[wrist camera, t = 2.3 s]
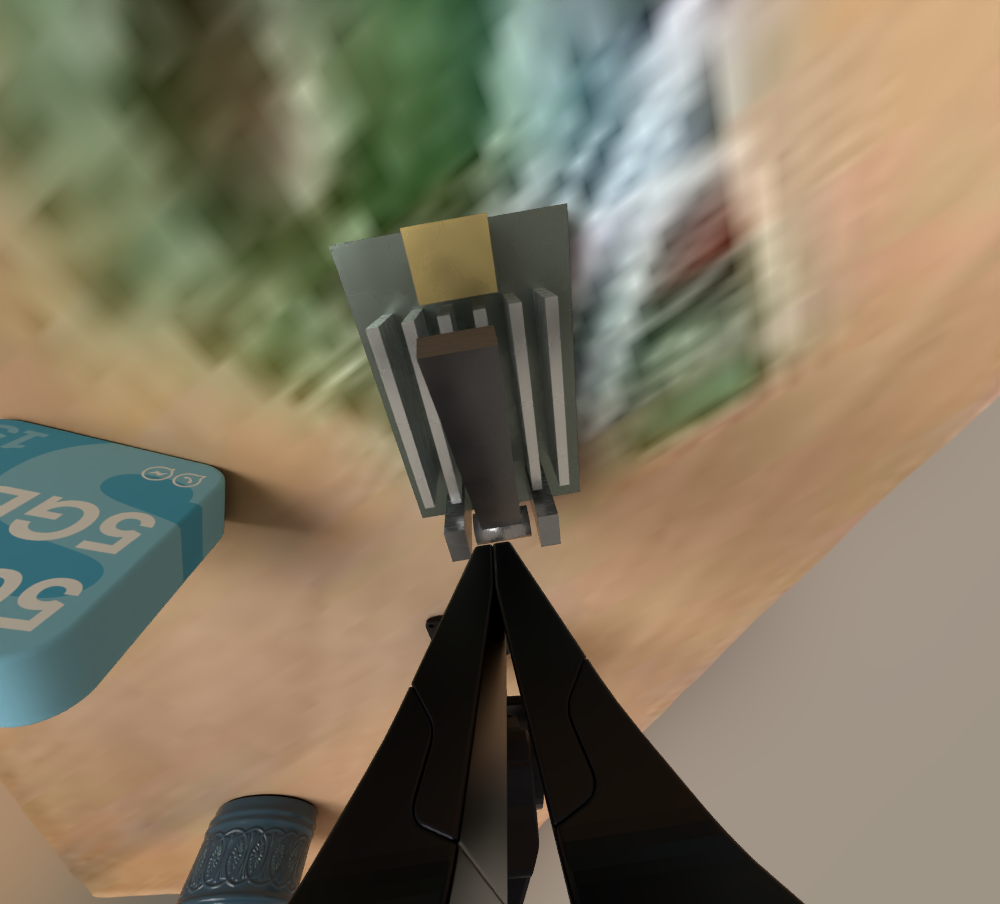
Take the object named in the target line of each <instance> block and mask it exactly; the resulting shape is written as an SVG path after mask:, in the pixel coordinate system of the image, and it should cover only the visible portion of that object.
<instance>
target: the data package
mask: <svg viewBox="0 0 1000 904" xmlns="http://www.w3.org/2000/svg"><path fill="white" fill-rule="evenodd" d="M224 514H225V477H224V475H223V474H222V473H221V472H220V471H219V470H218V469H216V468H214V467H212V466H209V465H206V464H202V463H197V462H193V461H189V460H185V459H180V458H176V457H172V456H168V455H164V454H159V453H155V452H151V451H147V450H142V449H138V448H134V447H130V446H125V445H121V444H117V443H113V442H109V441H104V440H100V439H96V438H92V437H87V436H83V435H79V434H75V433H71V432H66V431H62V430H58V429H54V428H49V427H45V426H41V425H37V424H33V423H28V422H24V421H18V420H6V419H0V727H20V726H26V725H31V724H34V723H38V722H41V721H44V720H47V719H49V718H51V717H54V716H56V715H58V714H60V713H62V712H64V711H66V710H67V709H69V708H71V707H73V706H74V705H75V704H77V703H78V702H80V701H81V700H82V699H84V698H85V697H86V696H87V695H89V694H90V693H91V692H92V691H93V690H94V689H95V688H96V687H97V685H98V684H99V683H100V682H101V681H102V680H103V678H104V677H105V676H106V675H107V674H108V672H109V671H110V670H111V669H112V668H113V666H114V665H115V664H116V663H117V662H118V660H119V659H120V658H121V657H122V656H123V655H124V653H125V652H126V651H127V650H128V649H129V647H130V646H131V645H132V644H133V643H134V641H135V640H136V639H137V638H138V637H139V635H140V634H141V633H142V632H143V631H144V629H145V628H146V627H147V626H148V625H149V623H150V622H151V621H152V620H153V619H154V617H155V616H156V615H157V614H158V613H159V612H160V610H161V609H162V608H163V607H164V606H165V604H166V603H167V602H168V601H169V600H170V598H171V597H172V596H173V595H174V594H175V592H176V591H177V590H178V589H179V588H180V586H181V585H182V584H183V583H184V582H185V580H186V579H187V578H188V577H189V576H190V574H191V573H192V572H193V571H194V570H195V569H196V567H197V566H198V565H199V564H200V563H201V561H202V560H203V559H204V558H205V557H206V555H207V554H208V553H209V552H210V551H211V549H212V548H213V547H214V546H215V545H216V543H217V542H218V541H219V540H220V539H221V537H222V535H223V533H224Z"/></svg>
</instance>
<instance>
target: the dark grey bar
mask: <svg viewBox="0 0 1000 904" xmlns="http://www.w3.org/2000/svg"><path fill="white" fill-rule="evenodd" d="M416 359H417V362H418V364H419V367H420V370H421V372H422V375H423V378H424V380H425V383H426V385H427V388H428V391H429V393H430V396H431V398H432V401H433V404H434V406H435V409H436V411H437V414H438V417H439V419H440V422H441V424H442V427H443V430H444V432H445V435H446V437H447V440H448V443H449V445H450V448H451V450H452V453H453V456H454V458H455V461H456V463H457V466H458V469H459V471H460V474H461V476H462V479H463V482H464V484H465V487H466V489H467V492H468V495H469V497H470V500H471V502H472V505H473V508H474V510H475V513H476V514H473V525H474V532H475V538H476V542H477V544H478V545H481V544H487V543H493V542H499V541H505V540H511V539H517V538H523V537H529V536H532V534H531V527H530V521H529V516H528V511H527V506H526V505H524V506H519V499H518V492H517V485H516V477H515V470H514V462H513V455H512V448H511V440H510V433H509V425H508V418H507V410H506V403H505V396H504V388H503V381H502V373H501V366H500V359H499V351H498V344H497V339H496V334H495V329H494V325H490V326H484V327H478V328H472V329H467V330H461V331H455V332H449V333H444V334H438V335H432V336H426V337H421V338H416Z"/></svg>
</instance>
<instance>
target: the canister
mask: <svg viewBox="0 0 1000 904" xmlns="http://www.w3.org/2000/svg"><path fill="white" fill-rule="evenodd" d="M316 818H317V810H316V809H315V808H314V807H313V806H312V805H311V804H309V803H307V802H304V801H302V800H298V799H294V798H289V797H281V796H253V797H245V798H240V799H236V800H233V801H230V802H228V803H226V804H224V805H223V806H221V807H220V808H219V809H218V811H217V813H216V815H215V817H214V818H213V820H212V821H211V822H210V824H209V828H208V830H207V831H206V833H205V836H204V841H203V844H202V846H201V848H200V850H199V853H198V855H197V857H196V859H195V862H194V864H193V866H192V869H191V871H190V873H189V875H188V878H187V880H186V882H185V884H184V887H183V889H182V891H181V893H180V896H179V898H178V900H177V902H176V904H287V903H288V901H289V900H290V898H291V897H292V895H293V894H294V892H295V891H296V889H297V888H298V886H299V884H300V880H301V877H302V873H303V869H304V865H305V861H306V858H307V854H308V850H309V846H310V843H311V841H312V839H313V837H314V831H315V829H316Z"/></svg>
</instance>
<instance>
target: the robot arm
mask: <svg viewBox="0 0 1000 904" xmlns="http://www.w3.org/2000/svg"><path fill="white" fill-rule="evenodd" d="M426 629H427V631H428V633H429V636H430V638H431V642H430V645H429V647H428V649H427V651H426V653H425V655H424V657H423V660H422V662H421V664H420V666H419V668H418V670H417V672H416V674H415V677H414V679H413V681H412V687H410V688H409V689H408V691H407V693H406V695H405V698H404V700H403V702H402V704H401V706H400V708H399V710H398V712H397V714H396V716H395V718H394V720H393V722H392V724H391V726H390V728H389V730H388V732H387V734H386V736H385V738H384V740H383V742H382V744H381V746H380V747H379V749H378V751H377V753H376V754H375V756H374V758H373V760H372V762H371V763H370V765H369V767H368V769H367V771H366V772H365V774H364V776H363V778H362V779H361V781H360V783H359V784H358V786H357V788H356V790H355V791H354V793H353V795H352V796H351V798H350V800H349V802H348V803H347V805H346V807H345V808H344V810H343V812H342V814H341V815H340V817H339V819H338V820H337V822H336V824H335V826H334V827H333V829H332V831H331V832H330V834H329V836H328V838H327V839H326V841H325V843H324V845H323V846H322V848H321V850H320V851H319V853H318V855H317V857H316V858H315V860H314V862H313V863H312V865H311V867H310V868H309V870H308V872H307V873H306V875H305V877H304V878H303V880H302V882H301V883H300V885H299V886H298V888H297V889H296V891H295V892H294V894H293V895H292V897H291V898H290V900H289V901H288V903H287V904H523V902H524V898H525V895H526V891H527V888H528V884H529V881H530V877H531V876H532V874H533V871H534V867H535V863H536V858H537V854H538V849H539V834H538V822H537V811H536V810H539V809H542V808H543V801H544V796H545V800H546V804H547V808H548V812H549V816H550V820H551V824H552V829H553V833H554V837H555V841H556V845H557V850H558V854H559V857H560V862H561V866H562V870H563V874H564V878H565V883H566V887H567V891H568V895H569V899H570V904H804V903H803V902H802V901H801V900H799V899H798V898H797V897H796V896H795V895H794V894H793V893H792V892H791V891H789V890H788V889H787V888H786V887H785V886H783V885H782V884H781V883H780V882H779V881H778V880H777V879H776V878H774V877H773V876H772V875H771V874H770V873H769V872H768V871H766V870H765V869H764V868H763V867H762V866H761V865H759V864H758V863H757V862H756V861H755V860H754V859H753V858H752V857H751V856H750V855H749V854H748V853H747V852H746V851H745V850H744V849H743V848H742V847H741V846H740V845H739V844H738V843H737V842H736V841H735V840H734V839H733V838H732V837H731V836H730V835H729V834H728V833H727V832H726V831H725V830H724V829H723V827H722V826H721V825H720V824H719V823H718V822H717V821H716V820H715V819H714V818H713V816H712V815H711V814H710V813H709V812H708V811H707V810H706V808H705V807H704V806H703V805H702V804H701V802H700V801H699V800H698V799H697V798H696V797H695V795H694V794H693V793H692V792H691V791H690V790H689V788H688V787H687V786H686V785H685V783H684V782H683V781H682V780H681V779H680V777H679V776H678V775H677V774H676V773H675V771H674V770H673V769H672V768H671V767H670V765H669V764H668V763H667V762H666V761H665V759H664V758H663V757H662V756H661V755H660V754H659V752H658V751H657V750H656V749H655V748H654V746H653V745H652V744H651V743H650V742H649V740H648V739H647V738H646V737H645V736H644V734H643V733H642V732H641V731H640V730H639V728H638V727H637V726H636V724H635V723H634V722H633V721H632V719H631V718H630V717H629V716H628V714H627V713H626V712H625V711H624V709H623V708H622V707H621V706H620V704H619V703H618V702H617V700H616V699H615V697H614V696H613V695H612V693H611V692H610V690H609V689H608V688H607V686H606V685H605V683H604V682H603V681H602V679H601V678H600V676H599V675H598V673H597V672H596V670H595V669H594V667H593V666H592V664H591V663H590V661H589V660H588V659H586V656H585V654H584V653H583V651H582V650H581V648H580V647H579V645H578V644H577V642H576V641H575V639H574V638H573V636H572V635H571V633H570V632H569V630H568V629H567V627H566V626H565V624H564V623H563V621H562V620H561V618H560V617H559V615H558V614H557V612H556V611H555V609H554V608H553V606H552V605H551V603H550V602H549V600H548V599H547V597H546V596H545V594H544V593H543V591H542V590H541V588H540V587H539V585H538V584H537V582H536V581H535V579H534V578H533V576H532V575H531V573H530V572H529V570H528V569H527V567H526V566H525V564H524V563H523V561H522V560H521V558H520V557H519V555H518V554H517V552H516V551H515V549H514V548H513V546H512V545H511V543H510V542H501V543H495V544H494V545H493V546H492V545H483V546H477V547H476V548H475V549H474V551H473V553H472V555H471V557H470V559H469V561H468V563H467V566H466V568H465V570H464V572H463V574H462V576H461V578H460V581H459V583H458V585H457V587H456V589H455V591H454V593H453V596H452V598H451V600H450V602H449V604H448V606H447V608H446V610H445V613H444V615H443V616H441V617H435V618H430V619H428V620H427V621H426ZM508 654H511V659H512V663H513V667H514V671H515V675H516V679H517V683H518V688H519V692H520V696H507V689H506V655H508Z"/></svg>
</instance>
